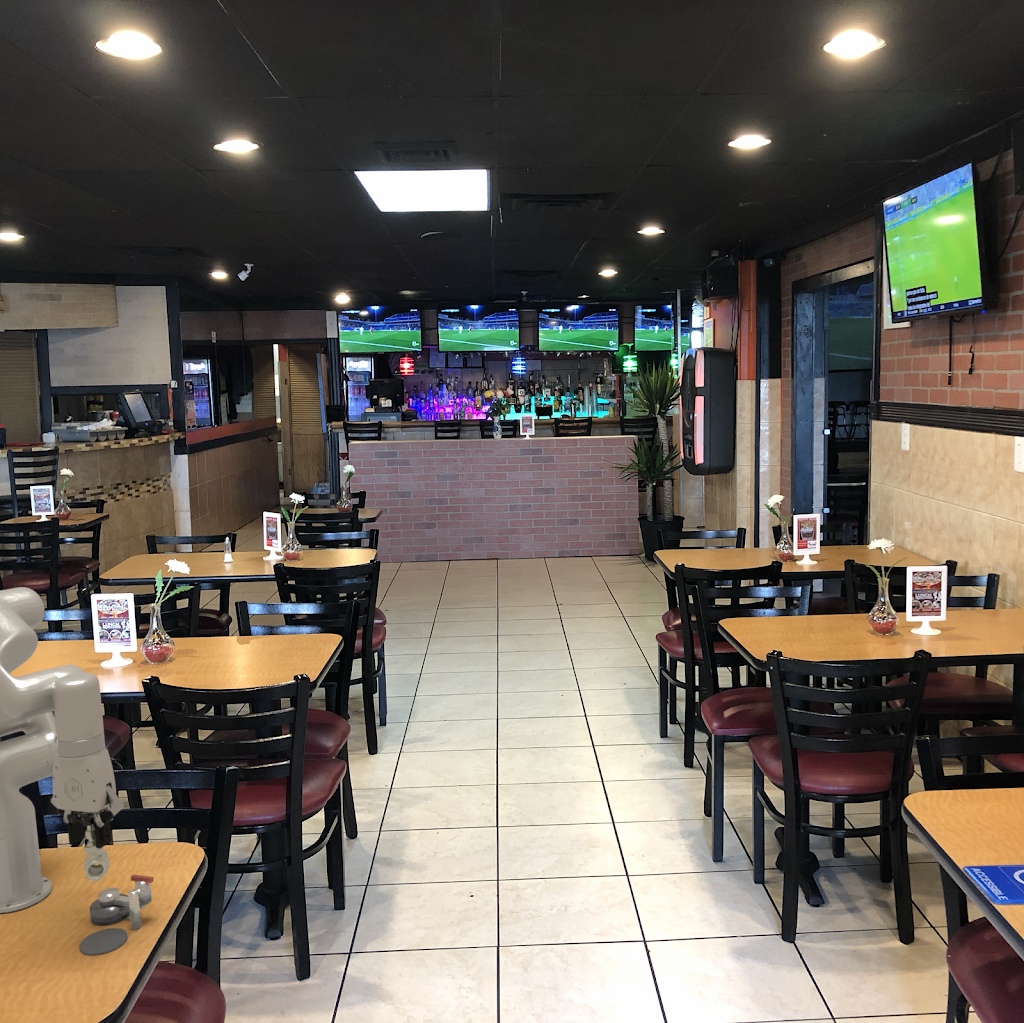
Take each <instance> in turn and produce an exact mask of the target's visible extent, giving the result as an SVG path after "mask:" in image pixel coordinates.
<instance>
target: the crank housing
mask: <svg viewBox="0 0 1024 1023" xmlns="http://www.w3.org/2000/svg"><path fill="white" fill-rule="evenodd" d="M119 894H120V896H126V897H128V900H129V907H128V906H121V905H112V906H108V907H102V906H100V905H99V898H98V899H96V900H94V901H93V902H92V903H91V904H90V906H89V914H90V922H91V924H92V925H94V926H98V927H104V926H105V927H106V926H111V925H114V924H115V925H116V924H118V923H120V922H122V921H124V920H129V922H130V930H131V931H135V930H140V929H141V928H142V914H141V908H140V903H139V892H138V889H135V888H132V889H130V890H128V891H127V894H125V893H119Z"/></svg>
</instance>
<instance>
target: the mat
mask: <svg viewBox="0 0 1024 1023" xmlns="http://www.w3.org/2000/svg"><path fill="white" fill-rule="evenodd" d="M128 939H129V935H128V932H127V931H126V930H125V929H123V928H120V927H109V928H103V929H101V930H98V931H95V932H93V933H90V934H89V935H87V936H86V937H84V938H83V939H82V940H81V942H80V943H79V945H78V946H79V947H78V950H79V952H81V954H83V955H86V956H101V955H104V954H108V953H111V952H113V951H116V950H117V949H119V948H120V947H122V946H123V945H124V944H125V943H126V942H127V941H128Z"/></svg>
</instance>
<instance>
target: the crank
mask: <svg viewBox="0 0 1024 1023" xmlns="http://www.w3.org/2000/svg"><path fill="white" fill-rule="evenodd" d="M130 881H132V882H134V887H135V888H134V889H138V892H139V903H140V909H143V908H145V907H146V906H147V905H148V904H150V903H151V902H152V901H153V899H152V898H153V897H152V888H151V884H152V883H153V882H154V876H150V875H149V876H148V875H141V874H140V875H139V874H132V875H131V876H130ZM120 894H121V893H120V889H119V888H118V887H110V888H109V887H108V888H105V889H103V890H101V891H100V892H99V893H98V899H99V905H100V906H102V907H108V906H112V905H121V906H128V907H129V900H128V897H126V896H120Z"/></svg>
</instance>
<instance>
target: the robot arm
mask: <svg viewBox="0 0 1024 1023" xmlns="http://www.w3.org/2000/svg"><path fill="white" fill-rule="evenodd" d="M44 617H45V605H44V603H43V600H42V598H41V597H40V595H39V594H38V593H37V592H36V591H35V590H33V589H31V588H30V587H29V588H28V587H24V586H23V587H22V586H18V587H13V588H7V589H2V590H0V738H1V737H4V736H5V737H6V736H8V735H11V734H14V733H18V732H23V733H24V735H20V736H16V737H12V738H9V739H6V740H3V741H0V914H4V913H5V914H6V913H12V912H15V911H21V910H23V909H26V908H29V907H31V906H34V905H35V904H37V903H39V902H41V901H42V900H43V899H45V898H46V897H47V896H48V895H49V894H50V893H51V891H52V889H53V887H52V886H53V885H52V881H51V879H49V878H47V877H45V876H43V875H42V865H41V857H40V856H41V855H40V847H39V846H40V845H39V837H38V836H39V835H38V829H37V820H36V809H35V805H34V804H33V802H32V801H31V800H30V798H29V797H28V796H26V795H24V794H22V793H21V792H20V789H21V788H22V787H25V786H27V785H30V784H32V783H35V782H37V781H40V780H44V779H46V778H49V777H52V797H51V798H50V803H51V804H52V805H53V806H54V807H55V808H56V809H57V810H58V812H59V813H60V815H61V816H62V817H63V822H64V823H65V824H66V825H67V834H68V844H69V845H70V846H74V845H75V844H77V843H79V842H81V841H82V840H84V839H86V833H85V831H86V830H85V826H83V823H80V822H78V821H77V822H76V823H71V821H67V816H66V815H67V814H70V813H73V811H75V812H84V813H93V814H94V817H95V824H96V826H95V827H93V828H94V831H95V841H96V847H97V848H99V849H100V848H102V847H103V848H104V847H105V846H106V845H108V844H109V843H111V842H112V840H113V839H112V831H111V830H112V828H111V822H112V821H113V820H114V818H115V816H116V815H117V814H118V813H119V812H120V811H121V810H122V809H124V808H125V805H124V803H123V802H122V800H121V799H120V798H119V796H118V795H117V789H116V788H117V787H116V780H115V779H116V778H115V774H114V769H113V763H112V760H111V757H110V753H109V750H108V749H106V741H105V730H104V729H105V728H104V718H103V707H102V697H101V686H100V681H99V680H100V679H99V677H98V676H97V675H96V674H94V673H91V672H85V671H84V670H83V669H82V668H80V667H79V666H78V665H76V664H64V665H60V666H55V667H53V668H48V669H42V670H39V671H35V672H31V673H27V674H24V675H20V676H13V675H12V674H11V673H13V671H15V670H17V669H18V668H19V667H21V666H22V665H23V664H24V663H27V661H28V660H29V659H30V658H31V657H32V656H33V654H35V652H36V649H37V647H38V643H39V637H38V635H37V633H36V631H35V630H34V629H35V628H37V627H38V626H40V625H41V623H42V622H43V619H44ZM103 809H105V812H104V810H103ZM100 810H102V814H103V815H102V814H101V812H100ZM96 813H97V816H98V817H96ZM103 848H102V849H103Z"/></svg>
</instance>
